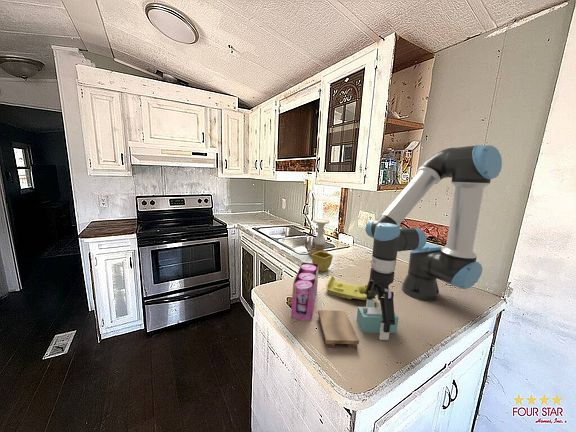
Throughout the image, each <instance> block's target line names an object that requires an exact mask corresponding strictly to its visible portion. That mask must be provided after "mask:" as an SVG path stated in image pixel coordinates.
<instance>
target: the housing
mask: <svg viewBox="0 0 576 432" xmlns="http://www.w3.org/2000/svg"><path fill="white" fill-rule="evenodd" d="M394 315H395V325H390V331H389V334H397V333H398V327H399V326H398V324H399V316H398V315H397V314H396V313H395V311H394ZM381 320H383V318H382V311H381V306H380V307H378V306H377V307H376V306H374V307H366V306H358V307H357V313H356V323H357V326H358V327H359V329H360V332H361V333H368V334H369V333H372V334H373V333H376V334H377V333H378V334H380V328H381Z"/></svg>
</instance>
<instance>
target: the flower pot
mask: <svg viewBox="0 0 576 432" xmlns="http://www.w3.org/2000/svg"><path fill="white" fill-rule="evenodd" d="M326 252H327V251H326ZM326 252H322V251H319V252H316V253H314V254H312V258H311V263H313V264H319V266H318V272H319V271H320V272H322V273H323V272H325V271H328V269H330V266H331V264H332V262H333V261H332V260H333V257H334V255H333V253H332V254H331V253H329V252H327V253H326Z"/></svg>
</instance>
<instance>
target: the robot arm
mask: <svg viewBox="0 0 576 432" xmlns="http://www.w3.org/2000/svg"><path fill="white" fill-rule="evenodd" d="M502 159H503V158H502V155H501V153H500V150H498V148H497V147H495V146H494V145H490V144H489V145H488V144H487V145H485V144H484V145H483V144H482V145H480V144H479V145H469V146H461V147H460V146H459V147H458V146H457V147H449V148H445V149H442V150H440V151H438V152H437V153H434V154H433V155H432V156H431V157H429V158H428V159H426V161H424V162H423V163H422V164H421V165H420V166H419V168H418V169H417V170H416V174H415V176H414V177H413V178H412V180H411V181H409V183H408V184H407V185H406V186H405V187H404V188H403V190H402V191H401V192H400V193H399V195H397V196H396V197H395V199H394V200H393V201H392V202H391V203H390V204H389V206H388V207H387V208H386V210H384V212H383V213H382V214H381V215H380V216H379V218H377V219H374V218H373V219H370V220H369V221H368V222H366V225H365V229H364V230H365V232H366V235H367V236H368V237H370V238H372V239H373V245H372V255H371V256H372V257H371V259H370V262H371V268H370V272H369V281H368V283H367V284H366V285H367V288H366V290H365V295H367V296H366V297H367V300H366V305H365V307H375V301H376V296H377V300H378V301H379V303H380V307H381V311H382V318H383V320H381V328H380V333H379V336H378V339H379V340H380V341H388V340H389V337H390V333H389V331H390V325H395V315H394V312H395V303H394V296H395V294H394V291H390V289H389V286H390V285H391V284H393V282H394V280H395V271H396V266H397V265H396V264H397V255H398V252H399V253H400V252H405V251H410V254H409V260H408V261H409V262H408V268H407V269H408V270H407V274H406V276H405V279H404V281H403V282H402V283H401V290H402V292H404V293H405V294H406V295H407V296H409V297H412V298H415V299H418V300H423V301H436V300H438V299H439V297H440V289H439V285H438V281H437V280H440V281H442V282H444V283H447V284H448V285H451V286H453V287H457V288H458V289H463V290H468V289H470V288H472V287H473V286H475V284H477V283H478V281H479V280H480V278H481V276H482V275H483V274H482V273H483V265H482V264H481V262H478V261H477V257H478V255H477V254H476V252H475V251H474V245H475V240H476V234H477V227H478V222H479V217H480V212H481V208H482V207H481V205H482V201H483V193H484V189H485V188H486V187H488V186H489V185H490V184H491V180H494V179H495V178H497V177H498V176H500V173H501V171H502V168H503V160H502ZM446 178H451V184H452V185H453V186H454V193H453V199H452V208H451V214H450V219H449V226H448V233H447V238H446V245H445V246H444V247H442V246H441V245H438V244H433V243H427V240H428V238H427V234H426V233H425V231H424V230H423V229H421V228H419V227H411V228H409V227H405V226H401V225H400V224H401V223H402V222H403V221H404V220H405V219H406V217H408V215H409V214H410V213H411V211H413V209H414V208H415V207H416V206H417V204H418V203H419V202H421V200H422V199H423V198H424V197H425V195H426V194H427V193H428V191H430V189H431V188H432V187H434V185H437V184H439V183H440V182H441V180H443V179H446Z"/></svg>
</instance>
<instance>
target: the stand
mask: <svg viewBox="0 0 576 432" xmlns="http://www.w3.org/2000/svg"><path fill="white" fill-rule="evenodd" d="M317 315H318V320H319V323H320V326H321V330H322V333H323V338H324V341H325V342H324V343H325V344H324V345H325V348H326V349H335V345H347V347H348V349H350V350H351V349H353V350H354V349H358V345H359V343H360V340H359V337H358V335H357V334H356V331H355V329H354V327H353V325H352V322H351V321H350V318H349V317H348V313H347V312H346V310H333V309H331V310H330V309H329V310H324V309H323V310H322V309H319V310H317Z"/></svg>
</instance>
